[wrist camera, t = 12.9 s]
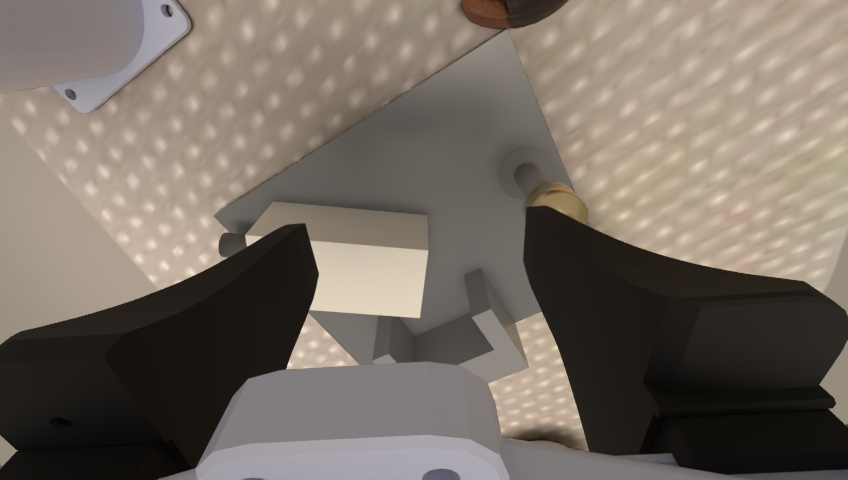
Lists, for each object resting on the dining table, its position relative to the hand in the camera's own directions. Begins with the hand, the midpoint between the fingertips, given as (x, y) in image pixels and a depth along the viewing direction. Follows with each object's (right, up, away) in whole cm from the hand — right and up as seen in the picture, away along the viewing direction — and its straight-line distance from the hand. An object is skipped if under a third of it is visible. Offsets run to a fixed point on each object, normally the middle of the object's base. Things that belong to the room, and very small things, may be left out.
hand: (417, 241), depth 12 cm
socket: (0, 0, +12) cm, 12 cm away
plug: (-5, 0, +11) cm, 12 cm away
